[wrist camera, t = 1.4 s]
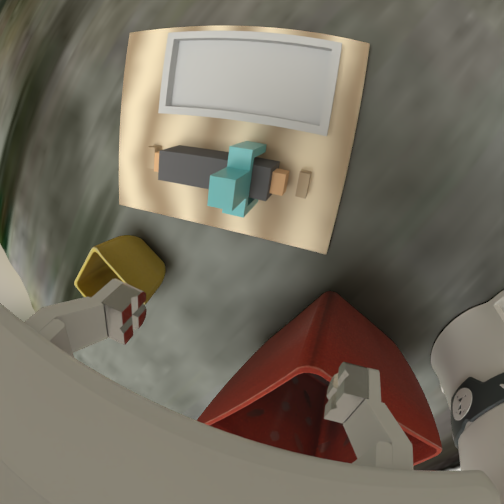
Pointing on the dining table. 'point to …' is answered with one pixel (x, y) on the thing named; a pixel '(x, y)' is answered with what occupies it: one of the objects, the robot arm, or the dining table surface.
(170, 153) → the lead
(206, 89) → the tray
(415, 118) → the dining table surface
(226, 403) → the plant pot
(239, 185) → the teal stepped block
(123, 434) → the robot arm
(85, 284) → the flower pot
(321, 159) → the board
